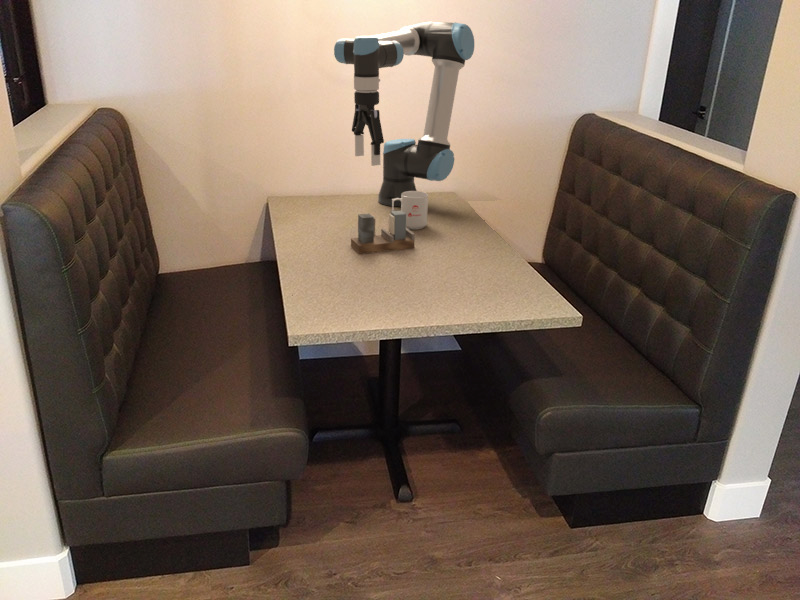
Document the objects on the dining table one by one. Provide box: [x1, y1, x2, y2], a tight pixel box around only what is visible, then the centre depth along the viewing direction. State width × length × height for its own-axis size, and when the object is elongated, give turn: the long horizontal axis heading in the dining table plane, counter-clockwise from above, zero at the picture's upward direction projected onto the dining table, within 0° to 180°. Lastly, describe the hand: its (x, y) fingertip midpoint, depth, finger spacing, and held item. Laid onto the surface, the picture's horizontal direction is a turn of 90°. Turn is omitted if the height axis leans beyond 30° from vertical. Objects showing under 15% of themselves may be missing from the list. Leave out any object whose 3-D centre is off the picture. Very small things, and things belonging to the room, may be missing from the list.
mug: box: [391, 190, 429, 230], centre depth 237 cm, size 12×9×11 cm
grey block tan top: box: [388, 210, 406, 240], centre depth 219 cm, size 4×4×8 cm
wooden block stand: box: [350, 213, 416, 255], centre depth 217 cm, size 18×8×10 cm, turn 112°
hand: (367, 160), depth 223 cm, fingers open, 13 cm apart
